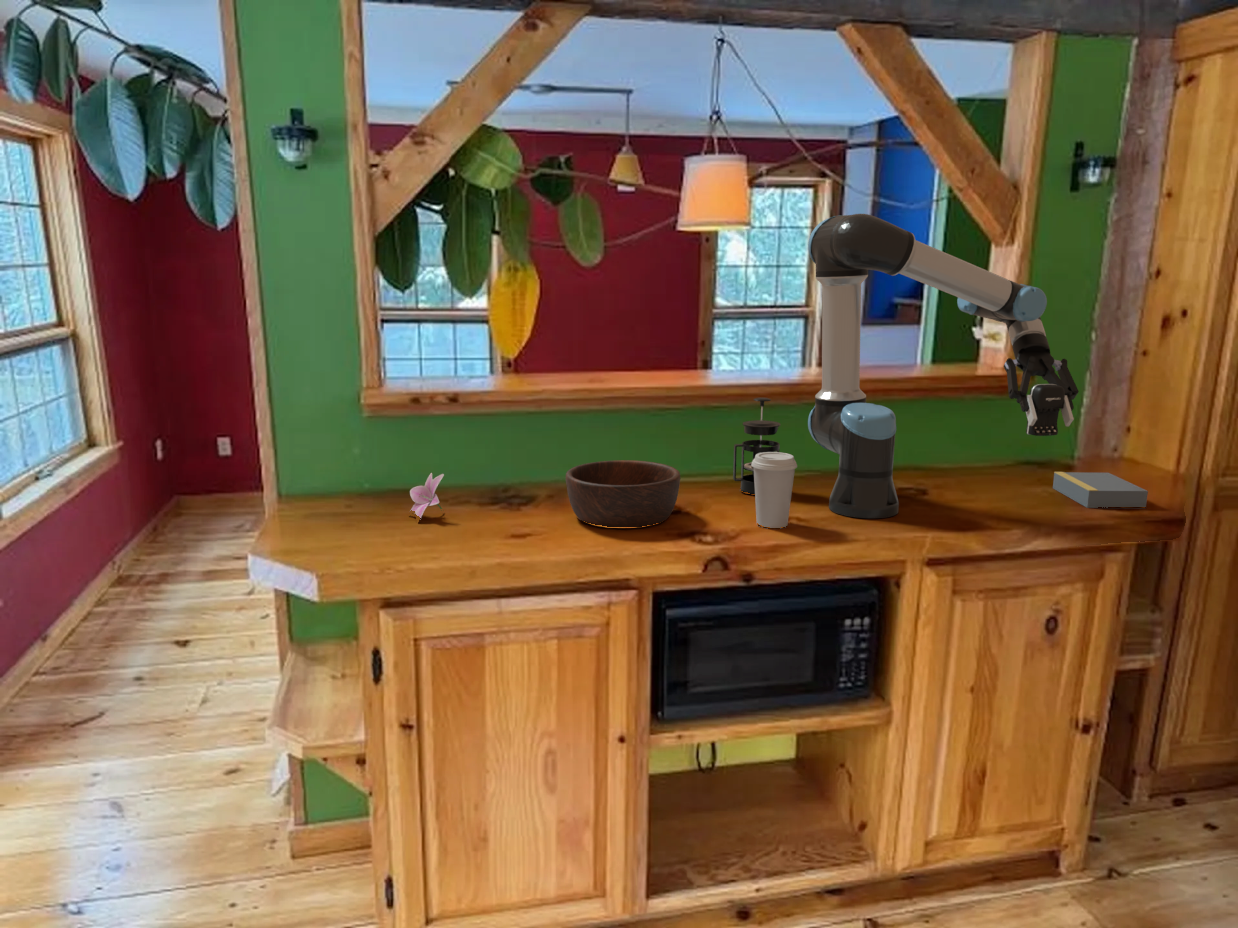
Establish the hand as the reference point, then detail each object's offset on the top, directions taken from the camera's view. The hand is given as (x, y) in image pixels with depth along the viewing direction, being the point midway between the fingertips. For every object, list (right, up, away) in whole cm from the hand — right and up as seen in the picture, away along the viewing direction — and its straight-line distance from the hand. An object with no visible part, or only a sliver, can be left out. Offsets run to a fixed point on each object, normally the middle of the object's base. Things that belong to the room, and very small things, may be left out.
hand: (1051, 422), depth 196 cm
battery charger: (0, -3, +4) cm, 5 cm away
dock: (+18, -17, +15) cm, 29 cm away
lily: (-137, -21, +1) cm, 139 cm away
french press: (-61, -16, +22) cm, 67 cm away
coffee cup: (-62, -22, -5) cm, 66 cm away
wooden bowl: (-94, -21, +1) cm, 96 cm away
